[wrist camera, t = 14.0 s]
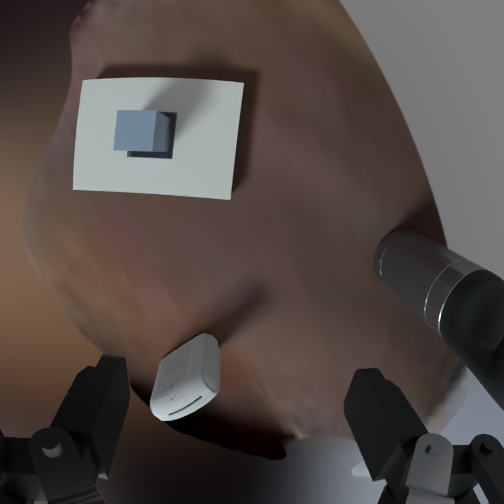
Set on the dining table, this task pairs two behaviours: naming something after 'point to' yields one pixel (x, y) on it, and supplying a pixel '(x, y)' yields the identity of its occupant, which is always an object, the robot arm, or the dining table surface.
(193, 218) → the dining table surface
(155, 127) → the peg
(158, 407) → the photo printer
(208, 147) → the socket
